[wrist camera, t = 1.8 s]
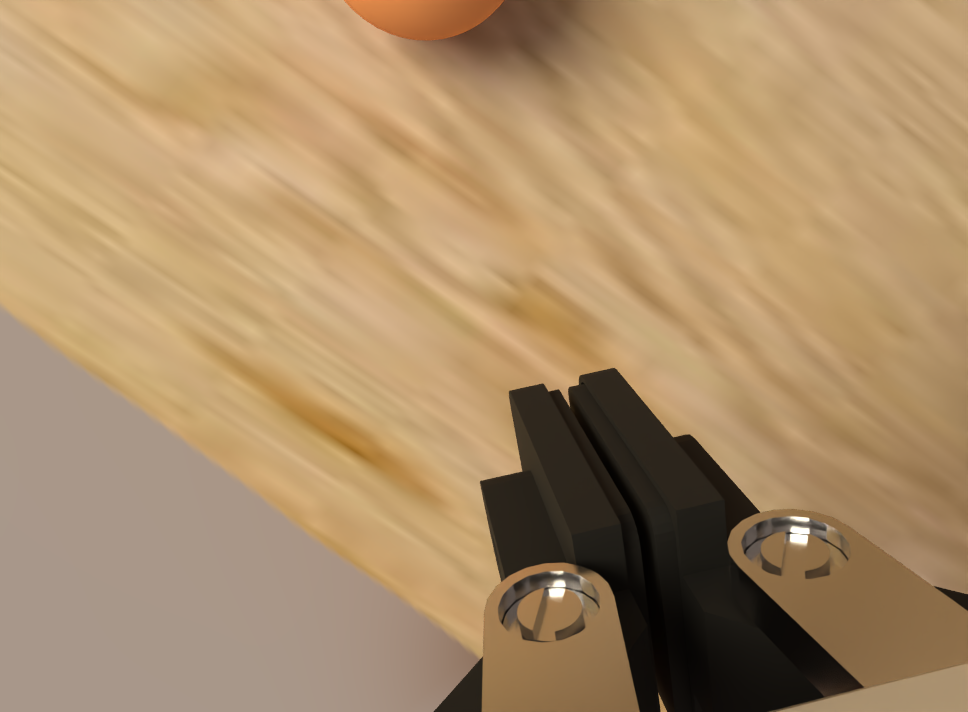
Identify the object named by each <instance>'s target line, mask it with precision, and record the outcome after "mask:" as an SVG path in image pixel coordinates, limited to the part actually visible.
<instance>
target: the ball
mask: <svg viewBox="0 0 968 712" xmlns="http://www.w3.org/2000/svg"><path fill="white" fill-rule="evenodd" d="M344 1H345V2H346V3H347V4H348V5H349V6H350V7H351V8H352V9H353V10H354V11H355V12H356V13H357V14H358V15H360V16H361V17H362V18H363V19H364V20H366V21H367V22H369V23H371V24H372V25H374V26H375V27H377V28H379V29H381V30H383V31H385V32H387V33H390V34H393V35H396V36H399V37H402V38H407V39H413V40H438V39H445V38H449V37H453V36H456V35H459V34H461V33H464V32H466V31H468V30H470V29H472V28H474V27H475V26H477V25H479V24H480V23H482V22H483V21H484V20H485V19H487V18H488V17H489V16H490V15H492V14H493V13H494V11H495V10H496V9H497V8H498V7H499V6H500V5H501V4H502V3H503V1H504V0H344Z"/></svg>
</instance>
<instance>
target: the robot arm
mask: <svg viewBox="0 0 968 712" xmlns="http://www.w3.org/2000/svg"><path fill="white" fill-rule="evenodd" d="M568 394H569V402H570V407H569V405H568V404H567V402H566V400H565V399H564V397H563V395H562V394H561V392H560V390H554V391H549V392H548V390H547V388H546V387H545V385H544V384H539V385H534V386H529V387H525V388H520V389H516V390H511V391H509V399H510V405H511V411H512V416H513V422H514V427H515V433H516V438H517V444H518V449H519V455H520V460H521V466H522V471H523V472H518V473H514V474H510V475H505V476H501V477H496V478H492V479H487V480H483V481H480V484H481V490H482V495H483V500H484V505H485V510H486V514H487V519H488V524H489V529H490V534H491V538H492V543H493V547H494V552H495V556H496V561H497V565H498V570H499V574H500V578H501V583H500V584H498V585H497V586H496V587H495V589H494V590H493V592H492V593H491V594H490V596H489V597H488V599H487V602H486V606H485V610H484V631H483V657H482V658H481V659H480V660H479V661H478V663H477V664H476V665H475V666H474V667H473V668H472V669H471V671H470V672H469V673H468V674H467V675H466V676H465V677H464V678H463V680H462V681H461V682H460V683H459V684H458V685H457V686H456V687H455V688H454V690H453V691H452V692H451V693H450V694H449V695H448V696H447V697H446V699H445V700H444V701H443V702H442V703H441V704H440V705H439V706H438V708H437V709H436V710H435V711H434V712H660V704H659V696H658V693H659V695H660V697H661V699H662V701H663V704H664V706H665V708H666V710H667V712H968V594H964V593H960V592H955V591H951V590H947V589H943V588H939V587H935V586H932V585H931V584H929V583H928V582H927V581H925V580H924V579H922V578H921V577H920V576H918V575H917V574H915V573H914V572H913V571H911V570H910V569H908V568H907V567H906V566H904V565H903V564H901V563H900V562H899V561H897V560H896V559H894V558H893V557H892V556H890V555H889V554H887V553H886V552H884V551H883V550H882V549H880V548H879V547H877V546H876V545H875V544H873V543H872V542H870V541H869V540H868V539H866V538H865V537H863V536H862V535H861V534H859V533H858V532H856V531H855V530H854V529H852V528H851V527H849V526H848V525H846V524H844V523H842V522H840V521H838V520H837V519H835V518H833V517H830V516H826V515H823V514H820V513H817V512H813V511H805V510H797V509H782V510H771V511H766V512H762V513H760V511H759V510H758V509H757V508H756V507H755V506H754V505H753V504H752V502H751V501H750V500H749V499H748V498H747V497H746V496H745V495H744V493H743V492H742V491H741V490H740V489H739V488H738V487H737V486H736V484H735V483H734V482H733V481H732V480H731V479H730V478H729V477H728V475H727V474H726V473H725V472H724V471H723V470H722V469H721V468H720V466H719V465H718V464H717V463H716V462H715V461H714V460H713V459H712V457H711V456H710V455H709V454H708V453H707V452H706V451H705V450H704V448H703V447H702V446H701V445H700V444H699V443H698V442H697V441H696V439H695V438H693V437H692V436H691V435H682V436H678V437H672V436H671V434H670V433H669V432H668V431H667V430H666V428H665V427H664V426H663V425H662V424H661V422H660V421H659V420H658V419H657V418H656V416H655V415H654V414H653V413H652V412H651V410H650V409H649V408H648V407H647V406H646V404H645V403H644V402H643V401H642V400H641V398H640V397H639V396H638V395H637V394H636V392H635V391H634V390H633V389H632V387H631V386H630V385H629V384H628V383H627V381H626V380H625V379H624V378H623V377H622V375H621V374H620V373H619V372H618V371H617V370H616V369H615V368H612V369H607V370H602V371H598V372H593V373H589V374H584V375H581V376H580V377H579V385H577V386H572V387H569V389H568Z"/></svg>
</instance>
